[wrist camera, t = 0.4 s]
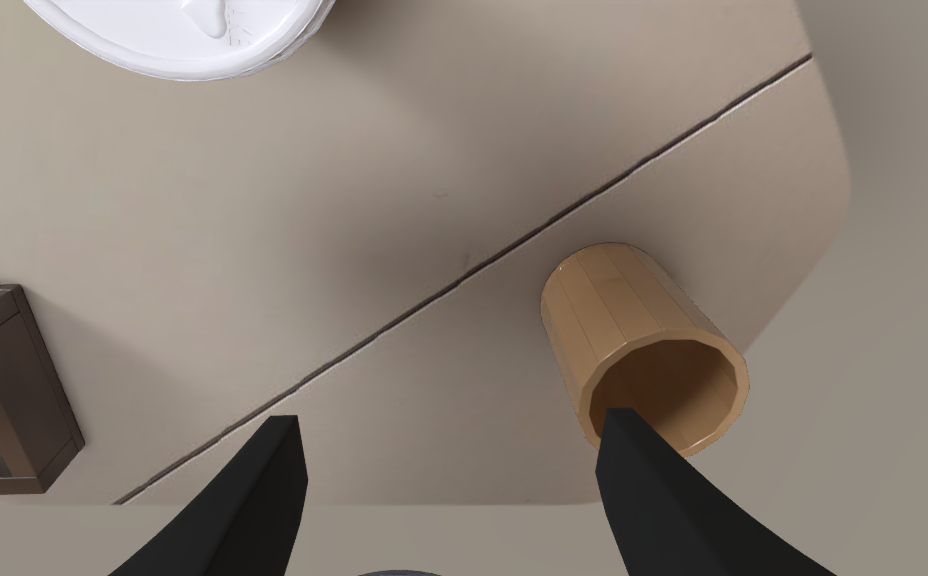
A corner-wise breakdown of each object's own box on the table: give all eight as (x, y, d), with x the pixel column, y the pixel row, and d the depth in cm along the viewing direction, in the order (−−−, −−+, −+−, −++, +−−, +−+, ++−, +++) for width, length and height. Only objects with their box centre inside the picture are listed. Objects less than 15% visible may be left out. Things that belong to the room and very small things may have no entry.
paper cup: (652, 352, 25) (725, 463, 19) (535, 353, 24) (569, 466, 18) (676, 242, 22) (770, 328, 16) (546, 242, 22) (590, 329, 16)
